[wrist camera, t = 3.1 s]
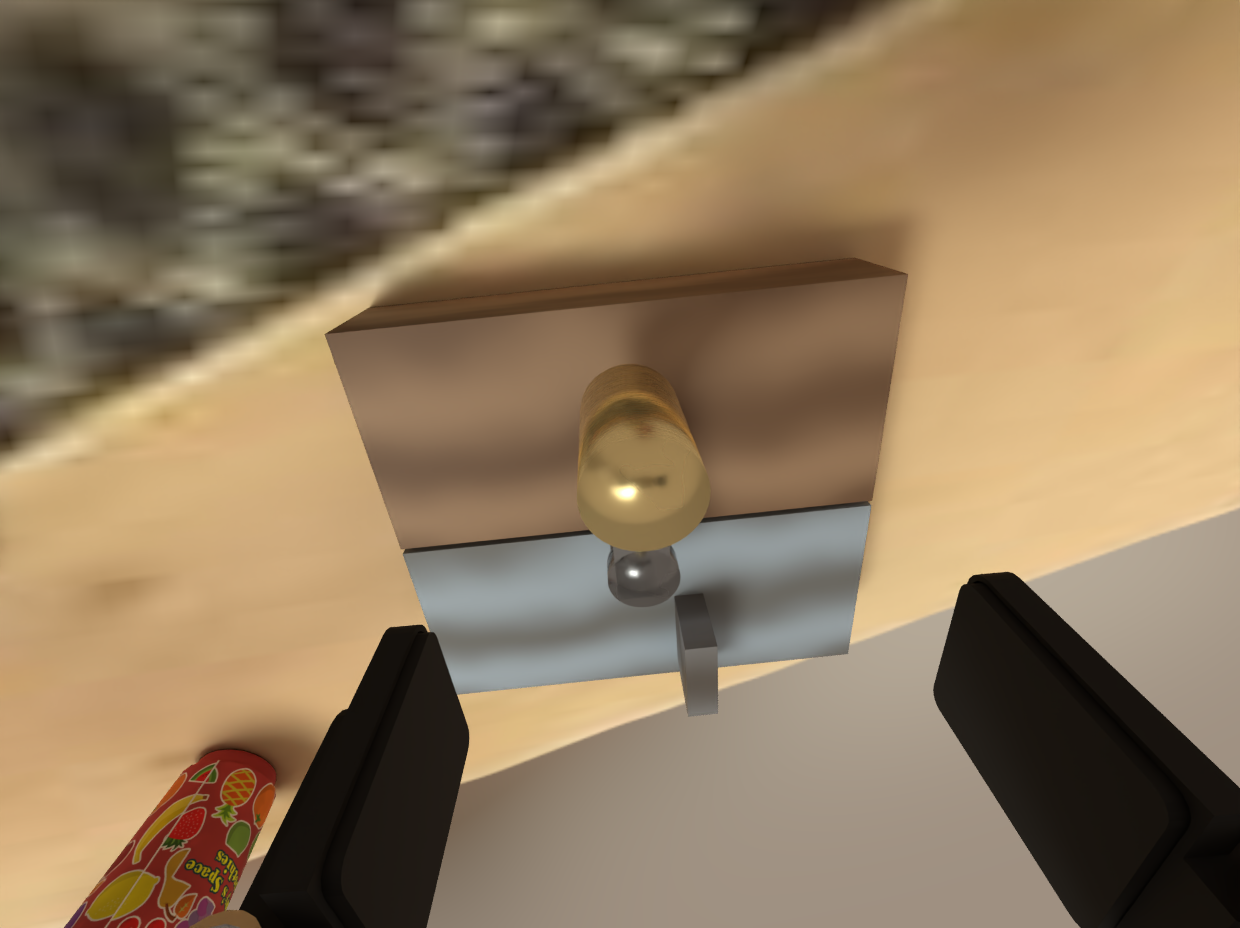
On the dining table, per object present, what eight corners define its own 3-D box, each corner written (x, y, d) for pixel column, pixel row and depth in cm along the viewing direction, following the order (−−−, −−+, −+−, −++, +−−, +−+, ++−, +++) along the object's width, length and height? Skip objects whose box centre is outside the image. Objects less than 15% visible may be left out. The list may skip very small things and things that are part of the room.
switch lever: (682, 585, 25) (713, 722, 19) (606, 593, 25) (611, 732, 19) (671, 349, 20) (710, 429, 14) (574, 359, 20) (568, 445, 14)
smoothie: (308, 797, 45) (125, 1203, 27) (206, 804, 44) (-47, 1218, 27) (275, 733, 41) (34, 1158, 23) (162, 740, 40) (-169, 1176, 23)
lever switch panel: (368, 307, 26) (277, 362, 19) (854, 257, 26) (965, 291, 19) (468, 633, 37) (436, 754, 29) (816, 596, 37) (877, 708, 29)
